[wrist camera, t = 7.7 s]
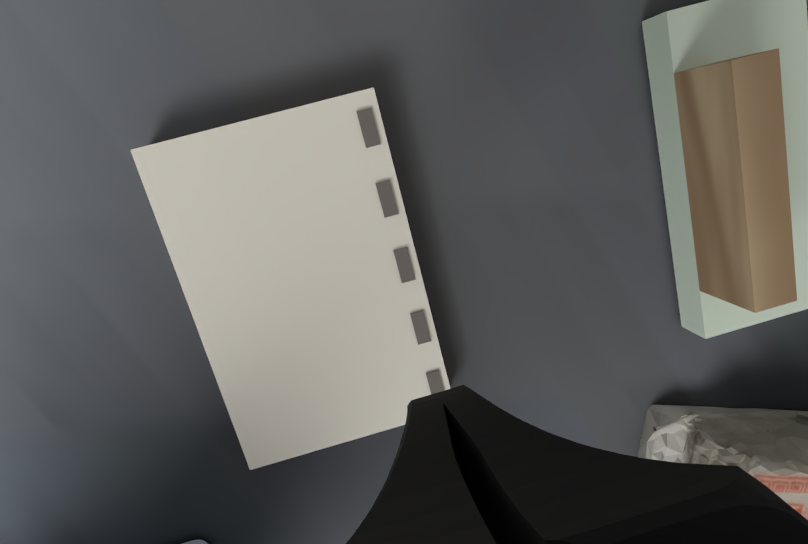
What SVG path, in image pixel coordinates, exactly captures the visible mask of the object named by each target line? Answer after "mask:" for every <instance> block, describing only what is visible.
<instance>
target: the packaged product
mask: <svg viewBox="0 0 808 544" xmlns="http://www.w3.org/2000/svg"><path fill="white" fill-rule="evenodd" d="M637 457H639V458H645V459H653V460H660V461H668V462H676V463H690V464H709V465H728V466H738V467H740V468H741V469H743V470H744V471H746V472H747V473H749V474H750V475H751V476H753V477H754V478H756V479H757V480H758V481H760V482H761V483H763V484H764V485H765V486H767V487H768V488H769V489H770V490H772V491H773V492H774V493H775V494H777V495H778V496H779V497H780V498H781V499H783V500H784V501H785V502H786V503H787V504H788V505H790V506H791V507H792V508H793V509H795V510H796V511H797V512H798V513H800V514H801V515H802V516H803V517H805V518H806V519H807V520H808V411H794V410H776V409H758V408H722V407H706V406H679V405H651V406H650V407H649V408H648V410H647V414H646V418H645V423H644V428H643V432H642V437H641V442H640V446H639V451H638V456H637Z"/></svg>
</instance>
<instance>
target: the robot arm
mask: <svg viewBox="0 0 808 544" xmlns="http://www.w3.org/2000/svg"><path fill="white" fill-rule="evenodd" d="M182 544H208V543H207V542H205V541H204V540H199V539H198V540H192V541H189V542H186V543H182ZM346 544H808V520H807V519H806V518H805V517H803V516H802V515H801V514H800V513H798V512H797V511H796V510H795V509H793V508H792V507H791V506H790V505H788V504H787V503H786V502H785V501H784V500H783V499H781V498H780V497H779V496H778V495H777V494H775V493H774V492H773V491H772V490H770V489H769V488H768V487H767V486H765V485H764V484H763V483H761V482H760V481H758V480H757V479H756V478H754V477H753V476H751V475H750V474H749V473H747V472H746V471H744V470H743V469H741V468H740V467H738V466H728V465H709V464H690V463H676V462H668V461H660V460H653V459H645V458H639V457H634V456H628V455H623V454H618V453H614V452H610V451H606V450H601V449H597V448H593V447H590V446H586V445H583V444H579V443H576V442H573V441H570V440H568V439H565V438H562V437H559V436H556V435H553V434H551V433H548V432H546V431H543V430H541V429H539V428H537V427H535V426H533V425H530V424H528V423H526V422H524V421H522V420H520V419H518V418H516V417H514V416H513V415H511V414H509V413H507V412H506V411H504V410H502V409H500V408H499V407H497V406H495V405H494V404H492V403H491V402H489V401H488V400H486V399H485V398H483V397H481V396H480V395H479V394H477V393H476V392H474V391H473V390H471V389H470V388H468V387H466V386H465V385H462V386H458V387H455V388H452V389H448V390H445V391H441V392H438V393H434V394H431V395H428V396H424V397H421V398H417V399H414V400H411V401H410V403H409V404H408V406H407V418H406V423H405V428H404V432H403V436H402V439H401V442H400V446H399V449H398V452H397V455H396V458H395V460H394V463H393V465H392V468H391V470H390V473H389V475H388V477H387V480H386V482H385V484H384V486H383V488H382V490H381V492H380V494H379V496H378V498H377V499H376V501H375V503H374V505H373V506H372V508H371V510H370V511H369V513H368V514H367V516H366V518H365V519H364V520H363V522H362V523H361V525H360V526H359V528H358V529H357V530H356V532H355V533H354V535H353V536H352V537H351V538H350V540H349V541H348V542H347V543H346Z"/></svg>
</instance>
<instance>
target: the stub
mask: <svg viewBox="0 0 808 544" xmlns="http://www.w3.org/2000/svg"><path fill="white" fill-rule="evenodd" d="M642 27H643V35H644V43H645V50H646V58H647V66H648V73H649V81H650V89H651V96H652V104H653V112H654V119H655V127H656V135H657V142H658V150H659V157H660V165H661V173H662V180H663V188H664V196H665V203H666V211H667V219H668V226H669V234H670V242H671V249H672V257H673V264H674V272H675V280H676V287H677V295H678V303H679V310H680V318H681V326H682V327H684V328H686V329H687V330H689V331H691V332H693V333H695V334H697V335H699V336H701V337H703V338H705V339H707V338H710V337H714V336H717V335H720V334H724V333H727V332H731V331H734V330H737V329H741V328H744V327H748V326H751V325H754V324H758V323H761V322H765V321H768V320H771V319H775V318H778V317H782V316H785V315H788V314H792V313H795V312H799V311H802V310H805V309H808V21H807V4H806V0H709V1H705V2H701V3H697V4H693V5H689V6H685V7H681V8H678V9H674V10H670V11H666V12H664V13H661V14H659V15H656V16H654V17H651V18H649V19H647V20H644V21H642Z"/></svg>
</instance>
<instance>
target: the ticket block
mask: <svg viewBox="0 0 808 544" xmlns="http://www.w3.org/2000/svg"><path fill="white" fill-rule="evenodd" d="M130 151H131V153H132V156H133V159H134V161H135V164H136V167H137V169H138V172H139V175H140V177H141V180H142V183H143V185H144V188H145V191H146V193H147V196H148V199H149V201H150V204H151V207H152V209H153V212H154V215H155V217H156V220H157V223H158V225H159V228H160V231H161V234H162V236H163V239H164V242H165V244H166V247H167V250H168V252H169V255H170V258H171V260H172V263H173V266H174V268H175V271H176V274H177V276H178V279H179V282H180V284H181V287H182V290H183V292H184V295H185V298H186V300H187V303H188V306H189V308H190V311H191V314H192V316H193V319H194V322H195V324H196V327H197V330H198V332H199V335H200V338H201V340H202V343H203V346H204V348H205V351H206V354H207V357H208V359H209V362H210V365H211V367H212V370H213V373H214V375H215V378H216V381H217V383H218V386H219V389H220V391H221V394H222V397H223V399H224V402H225V405H226V407H227V410H228V413H229V415H230V418H231V421H232V423H233V426H234V429H235V431H236V434H237V437H238V439H239V442H240V445H241V447H242V450H243V453H244V455H245V458H246V461H247V463H248V466H249V469H250V470H253V469H256V468H259V467H263V466H266V465H270V464H273V463H276V462H280V461H283V460H287V459H290V458H293V457H297V456H300V455H304V454H307V453H310V452H314V451H317V450H321V449H324V448H327V447H331V446H334V445H337V444H341V443H344V442H348V441H351V440H354V439H358V438H361V437H365V436H368V435H371V434H375V433H378V432H382V431H385V430H388V429H392V428H395V427H399V426H402V425H405V423H406V418H407V406H408V404H409V403H410V401H411V400H414V399H417V398H421V397H424V396H428V395H431V394H434V393H438V392H441V391H445V390H448V389H450V385H449V381H448V377H447V373H446V369H445V365H444V361H443V358H442V354H441V350H440V346H439V342H438V338H437V334H436V330H435V326H434V322H433V318H432V314H431V310H430V306H429V303H428V299H427V295H426V291H425V287H424V283H423V279H422V275H421V271H420V267H419V263H418V259H417V255H416V251H415V248H414V244H413V240H412V236H411V232H410V228H409V224H408V220H407V216H406V212H405V208H404V204H403V200H402V196H401V193H400V189H399V185H398V181H397V177H396V173H395V169H394V165H393V161H392V157H391V153H390V149H389V145H388V141H387V138H386V134H385V130H384V126H383V122H382V118H381V114H380V110H379V106H378V102H377V98H376V94H375V90H374V87H373V88H369V89H365V90H361V91H357V92H353V93H349V94H345V95H342V96H338V97H334V98H330V99H326V100H322V101H318V102H314V103H311V104H307V105H303V106H299V107H295V108H291V109H287V110H283V111H279V112H276V113H272V114H268V115H264V116H260V117H256V118H252V119H248V120H244V121H241V122H237V123H233V124H229V125H225V126H221V127H217V128H213V129H209V130H206V131H202V132H198V133H194V134H190V135H186V136H182V137H178V138H175V139H171V140H167V141H163V142H159V143H155V144H151V145H147V146H143V147H140V148H136V149H132V150H130Z"/></svg>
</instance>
